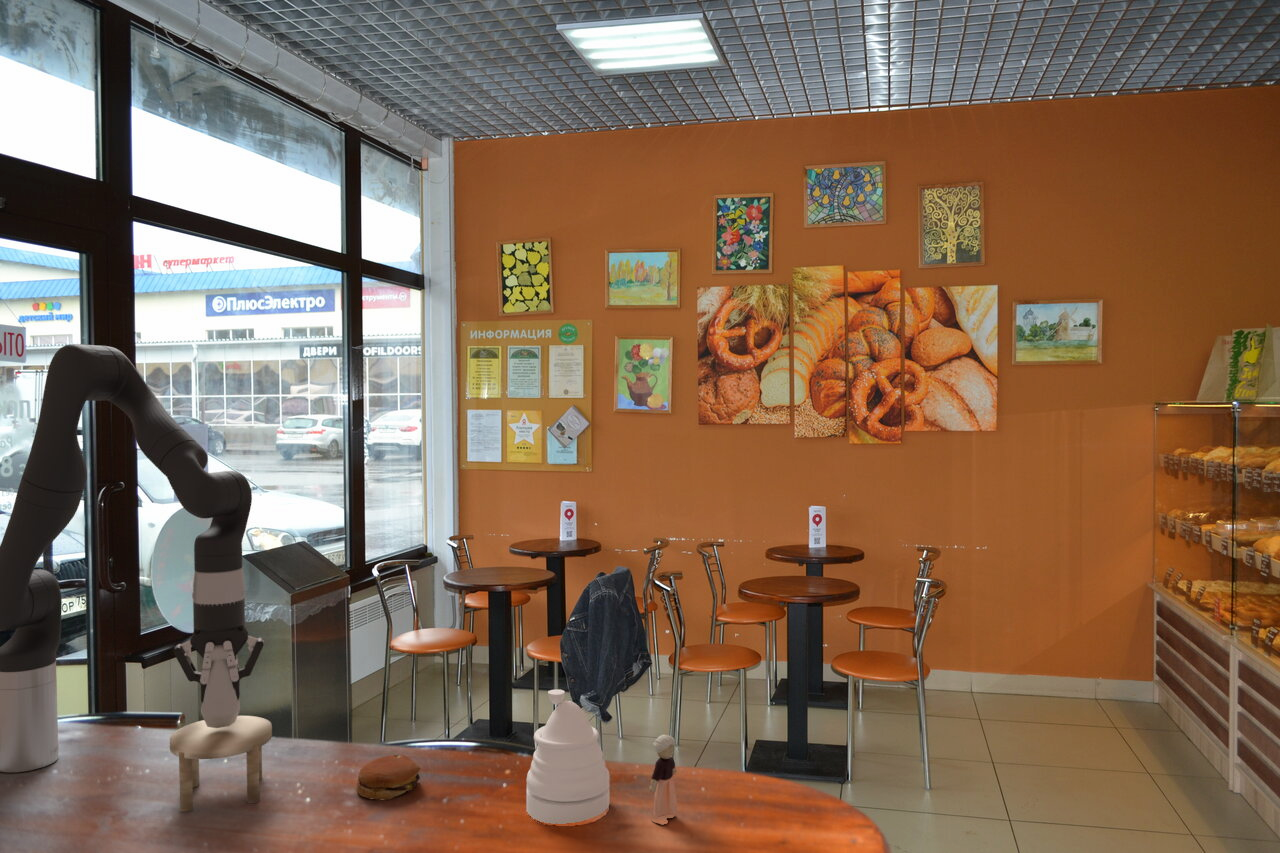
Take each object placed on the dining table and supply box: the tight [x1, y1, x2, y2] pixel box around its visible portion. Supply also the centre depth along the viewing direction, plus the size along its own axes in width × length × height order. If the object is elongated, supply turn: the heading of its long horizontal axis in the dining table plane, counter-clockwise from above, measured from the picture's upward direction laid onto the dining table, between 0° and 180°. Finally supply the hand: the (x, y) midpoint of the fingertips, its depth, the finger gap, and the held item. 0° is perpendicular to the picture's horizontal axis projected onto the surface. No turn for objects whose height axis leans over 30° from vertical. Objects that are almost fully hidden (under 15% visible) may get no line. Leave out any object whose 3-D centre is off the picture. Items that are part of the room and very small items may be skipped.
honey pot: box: [525, 688, 611, 824], centre depth 149 cm, size 13×13×18 cm
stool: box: [169, 715, 273, 813], centre depth 155 cm, size 15×15×10 cm
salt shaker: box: [200, 645, 241, 728], centre depth 155 cm, size 6×6×13 cm
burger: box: [356, 754, 421, 800], centre depth 157 cm, size 10×9×5 cm
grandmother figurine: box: [648, 734, 678, 817], centre depth 146 cm, size 8×4×13 cm, turn 163°
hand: (220, 703), depth 155 cm, fingers closed on salt shaker, 3 cm apart
